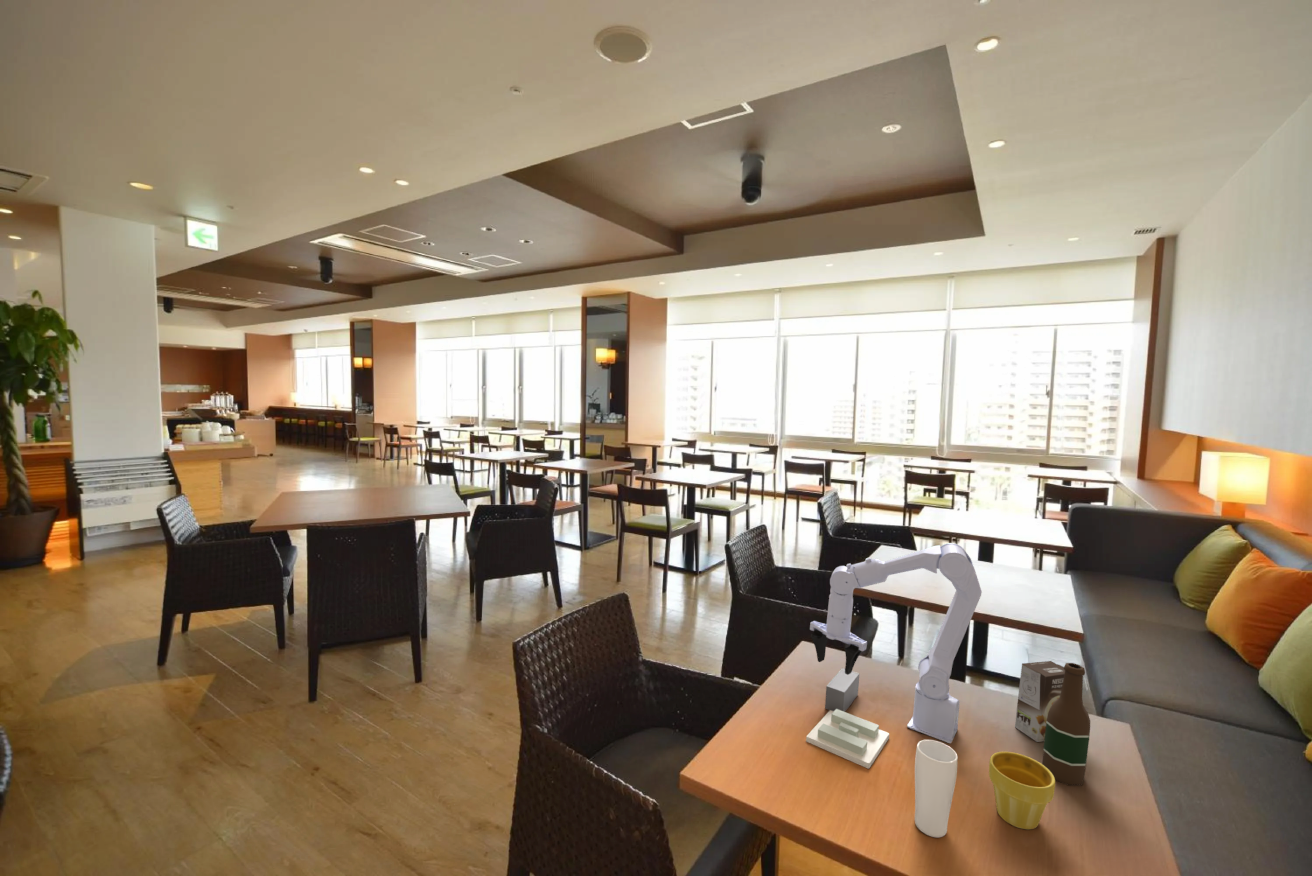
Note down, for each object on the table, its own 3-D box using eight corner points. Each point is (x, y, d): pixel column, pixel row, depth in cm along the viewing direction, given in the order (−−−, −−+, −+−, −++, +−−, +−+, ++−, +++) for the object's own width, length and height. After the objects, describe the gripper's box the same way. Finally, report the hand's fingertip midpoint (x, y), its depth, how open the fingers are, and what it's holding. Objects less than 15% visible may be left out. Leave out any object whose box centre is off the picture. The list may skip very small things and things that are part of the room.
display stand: (888, 738, 131) (890, 725, 131) (868, 769, 120) (869, 755, 120) (829, 714, 140) (830, 703, 139) (806, 741, 129) (806, 728, 128)
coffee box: (1038, 743, 131) (1045, 676, 130) (1013, 727, 137) (1020, 663, 136) (1068, 738, 134) (1075, 672, 132) (1043, 722, 140) (1050, 659, 138)
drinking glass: (958, 843, 101) (965, 763, 100) (919, 841, 101) (926, 762, 100) (940, 815, 108) (946, 739, 106) (903, 813, 108) (910, 738, 106)
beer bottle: (1077, 767, 123) (1089, 661, 121) (1091, 791, 116) (1105, 678, 114) (1035, 758, 126) (1046, 654, 123) (1047, 781, 118) (1059, 670, 116)
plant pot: (1009, 839, 102) (1014, 788, 102) (973, 797, 113) (978, 750, 112) (1063, 838, 103) (1069, 787, 102) (1023, 797, 113) (1028, 750, 112)
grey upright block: (857, 695, 149) (859, 673, 149) (842, 715, 140) (844, 692, 139) (840, 689, 152) (842, 667, 151) (824, 709, 142) (826, 686, 142)
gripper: (805, 608, 145) (800, 659, 146) (859, 629, 134) (853, 684, 136) (820, 602, 150) (815, 652, 151) (873, 622, 139) (867, 675, 141)
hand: (834, 666), depth 144 cm, fingers open, 7 cm apart
